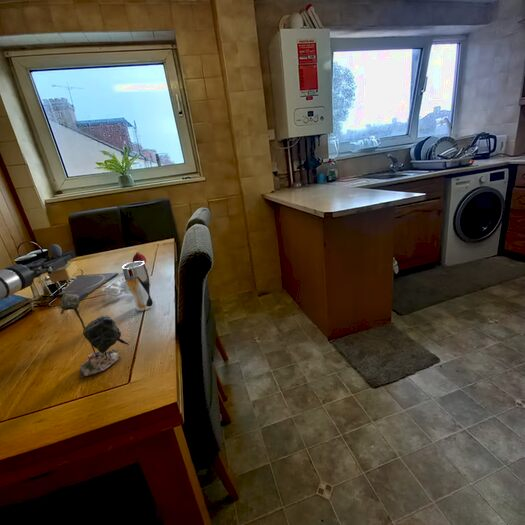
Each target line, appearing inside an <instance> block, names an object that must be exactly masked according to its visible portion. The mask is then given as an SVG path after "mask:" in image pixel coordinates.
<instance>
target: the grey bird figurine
mask: <svg viewBox="0 0 525 525" xmlns="http://www.w3.org/2000/svg"><path fill="white" fill-rule="evenodd" d="M61 299H62V301H61V300H60V306H59V307H60V309H61V312H60V315H63V314H64V312H65V311H69V310H73V311H74V312H75V314H76V316H77V317H78V318H79V321H80V323H81V325H82V328H83V330H82V335H83V336H84V338H85V339H86V340H87V341H88V343H89V344H90V346H91V349H92V351H93V353H90V354H88V355H87V359H86V361H84V362H83V363H81V365H80V368H79V369H80V370H79V373H80V378H85V377H88V376H92V375H94V374H97V373H102V371H103V372H104V371H106V370H107V369H108V368H109V367H111V366H112V365H113V364H115V363H116V362H118V361H119V360H121V355H120V353H119V351H118V350H116V349H112V350H109V349H110V348H111V347H112V346H114V345H116V343H117V342H120V343H121V344H124V345H127V346H128V345H130V343H129V342H128V341H125V340H124V339H121V337H122V332H121V330H120V328H119V326H118V325H117V324H116V322H115V321H114V320H113V318H111V316H109V315H101V316H98V317H96V319H93V320H91V321H90V322H89V323H88V324H87V325H86V326H85V323H84V321H83V319H82V317H81V315H80V312H79V310H78V308H79V307H80V301H79V299H80V298H79V295H74V294H64V295H63V296H61ZM96 350H97V351H96Z"/></svg>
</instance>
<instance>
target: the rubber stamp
mask: <svg viewBox="0 0 525 525" xmlns="http://www.w3.org/2000/svg"><path fill="white" fill-rule="evenodd" d="M48 251H49V253H50V255H51V257H52V256H53V257H54V258H55V259H56V258H58V256H61V255H62V252H63V251H62V247H61V246H60V245H59V244H56V243H54V244H51V245H50V246H49V248H48ZM67 262H68V264H66V265H64V266H62V267H61V268H59V269H57V270H55V271H54V272H53V273H51V274H48V273H47V275H48V278H49V279H50V282H51V283H57V282H61V281H68V280H71V279H72V276H74V274H75V273H76V272H77V271H78V266H77V264H76V261H73V260H72V261H67Z"/></svg>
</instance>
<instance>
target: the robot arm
mask: <svg viewBox="0 0 525 525" xmlns="http://www.w3.org/2000/svg"><path fill="white" fill-rule="evenodd" d="M44 257H45V258H40V259H38V260H37V259H36V260H35V261H32V262H30V263H27V264H24V265H23V264H19V263H17V264H13V265H10V266H8V267H5V268H3V269H0V301H2V300H4V299H10V298H11V296H13V295H14V294H16V293H18V292H20V291H23V290H25V289H26V288H27V289H28V287H30V286H32V285H33V284H34V281H35V279H37V278H39V277H41V276H42V275H45V274H47V275H48V274H51V273H53V272H54V271H55V270H57V269H59V268H61V267H62V266H64V265H66V264H68V262H70V261H71V260H74V259H76V258H77V254H76V252H75V249H73V250H72V249H71V250H70V251H68V252H67V250H64V251H62V255H61V256H58V258H56V259H55V258H54V257H53V256H52V255H51V256H50V255H45V256H44Z"/></svg>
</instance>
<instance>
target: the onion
mask: <svg viewBox="0 0 525 525" xmlns="http://www.w3.org/2000/svg"><path fill="white" fill-rule="evenodd" d="M136 261H143V262H144V263H145V265H146V264H147V258H146V257H145V255H144V254H142V253H140V251H136V253H135V254H134V256H133V257H132V262H136Z"/></svg>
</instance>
